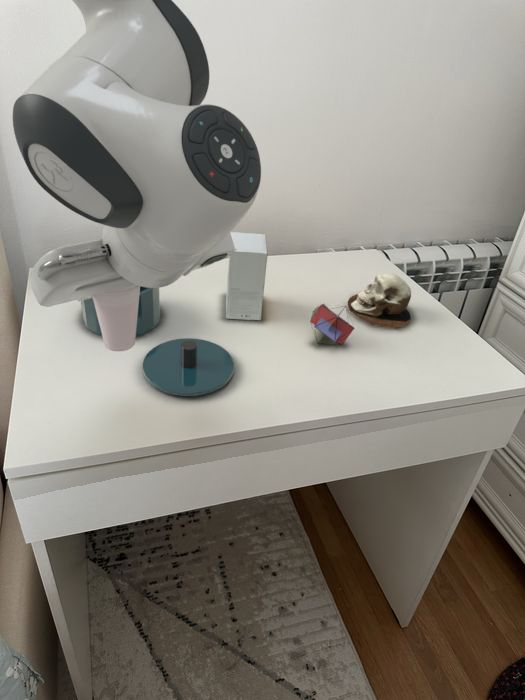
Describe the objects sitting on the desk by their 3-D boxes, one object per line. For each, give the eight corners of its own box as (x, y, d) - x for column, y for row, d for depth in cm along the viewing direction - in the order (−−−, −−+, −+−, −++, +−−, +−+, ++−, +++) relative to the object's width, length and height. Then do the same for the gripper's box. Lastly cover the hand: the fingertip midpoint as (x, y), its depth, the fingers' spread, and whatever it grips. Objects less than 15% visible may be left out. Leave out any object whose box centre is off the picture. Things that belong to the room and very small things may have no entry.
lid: (190, 412, 73) (191, 386, 71) (123, 371, 80) (121, 345, 77) (251, 368, 83) (253, 343, 80) (186, 334, 89) (187, 310, 86)
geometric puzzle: (366, 330, 91) (346, 289, 88) (353, 350, 85) (332, 306, 83) (331, 340, 95) (311, 301, 93) (316, 359, 90) (295, 319, 88)
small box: (261, 321, 94) (268, 253, 87) (225, 319, 94) (229, 251, 86) (260, 298, 101) (266, 233, 93) (226, 296, 100) (229, 231, 93)
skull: (356, 326, 93) (354, 268, 94) (342, 334, 103) (341, 282, 105) (422, 326, 94) (420, 270, 95) (402, 335, 104) (400, 283, 106)
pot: (118, 347, 84) (115, 307, 80) (68, 317, 90) (62, 278, 86) (175, 317, 93) (174, 278, 88) (125, 291, 98) (122, 254, 94)
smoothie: (138, 325, 70) (132, 224, 62) (152, 352, 66) (148, 247, 58) (88, 333, 68) (75, 229, 60) (99, 362, 63) (87, 254, 55)
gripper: (56, 296, 45) (33, 335, 57) (248, 249, 56) (196, 290, 68) (29, 227, 45) (11, 280, 57) (226, 194, 57) (178, 244, 68)
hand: (113, 285), depth 63 cm, fingers closed on smoothie, 6 cm apart
